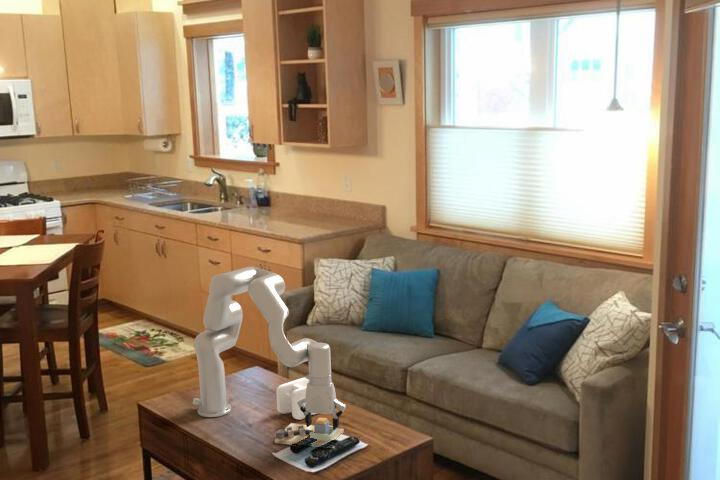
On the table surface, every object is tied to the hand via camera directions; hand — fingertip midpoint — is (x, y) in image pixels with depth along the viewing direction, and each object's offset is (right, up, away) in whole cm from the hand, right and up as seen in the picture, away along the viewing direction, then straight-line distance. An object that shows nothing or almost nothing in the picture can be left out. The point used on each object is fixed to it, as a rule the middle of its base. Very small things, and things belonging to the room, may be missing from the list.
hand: (322, 426), depth 270 cm
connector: (0, -3, 0) cm, 3 cm away
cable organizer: (-9, -1, +23) cm, 25 cm away
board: (-4, -4, +2) cm, 7 cm away
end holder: (+1, -3, 0) cm, 3 cm away
